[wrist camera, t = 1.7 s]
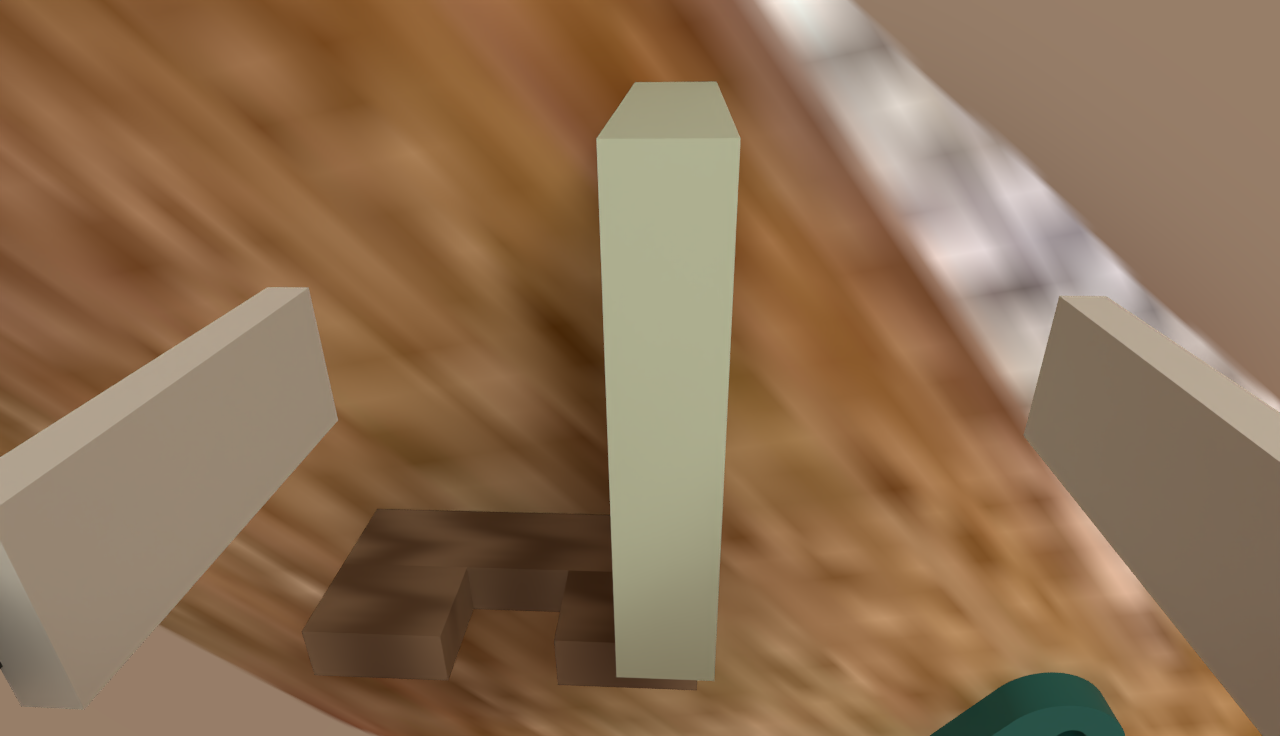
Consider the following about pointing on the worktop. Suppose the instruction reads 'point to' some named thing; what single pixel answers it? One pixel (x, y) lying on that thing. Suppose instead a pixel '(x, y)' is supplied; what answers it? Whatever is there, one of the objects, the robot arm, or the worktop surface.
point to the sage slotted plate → (667, 366)
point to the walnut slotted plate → (469, 594)
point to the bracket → (1038, 710)
